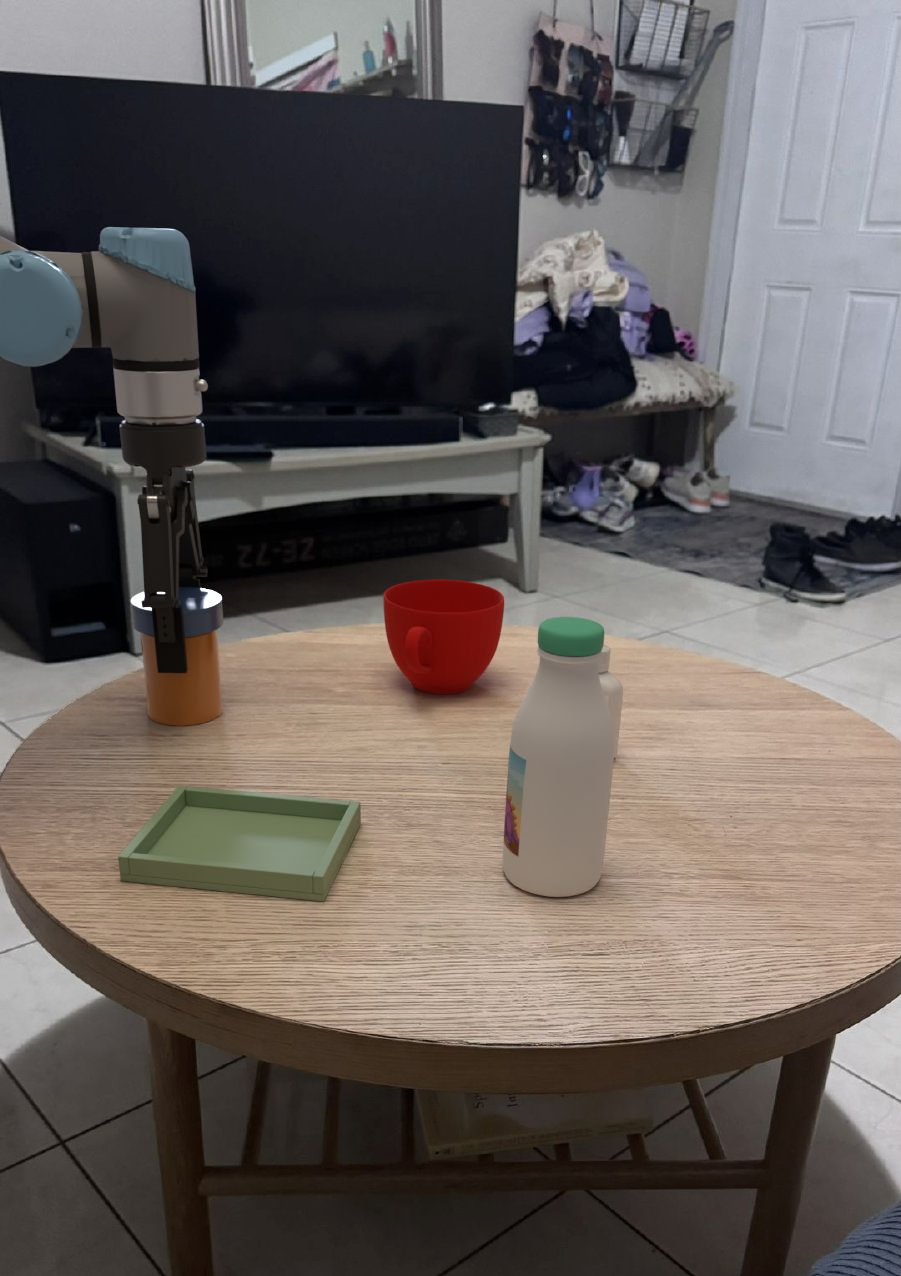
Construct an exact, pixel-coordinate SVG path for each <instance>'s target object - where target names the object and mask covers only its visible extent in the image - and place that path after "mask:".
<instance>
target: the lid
mask: <svg viewBox="0 0 901 1276" xmlns="http://www.w3.org/2000/svg"><path fill="white" fill-rule="evenodd" d="M158 593H162V594H165V593H163V592H158ZM141 600H144V591H141V592H138V593H136V594H135V595H133V596H132V597H131V599H130V601H129V602H130V611H131V622H132V628H133V629H134V630H135V631H137V632H138V633H143V634H147V635H152V636H154V629H153V618H152V608H143V607H142V604H141ZM179 605H182V609H183V621H184V633H185V637H188V636H196V635H201V634H206V633H209V632H212V631H215V630H217V631H218V630H219V629H220V628H221V627H222V626H223V625H224V609H223V607H224V606H223V597H222V595H221V594H220V593H218V592H217V591H214V590H212V589H206V588H202V587H201V588H194V587H179Z"/></svg>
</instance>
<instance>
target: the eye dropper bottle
mask: <svg viewBox="0 0 901 1276" xmlns="http://www.w3.org/2000/svg"><path fill="white" fill-rule="evenodd" d="M611 652H612V651H611V647H610V646H609V645H606V644H605V643H604V644H603V648H602V658H601V659H600V660H599V661H598V673H599V679H600V683H601V687H602V691H603V694H604V697H605V700H606V702H607V705H608V707H609V710H610V713H611V717H612V721H613V728H614V759H615V758H616V757H617V755H618V750H619V749H618V748H619V740H620V739H619V738H620V730H621V719H622V709H623V708H622V707H623V699H624V698H623V696H624V685H623V684H622V682H621V681H620V680H619V679H618V677H617V676H616V675H614V674H613V673H611V672H610V671H609V670H610V660H611Z"/></svg>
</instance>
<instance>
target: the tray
mask: <svg viewBox="0 0 901 1276" xmlns="http://www.w3.org/2000/svg"><path fill="white" fill-rule="evenodd" d="M361 804H362V803H361V801H355V800H345V799H334V798H324V797H323V798H322V797H311V796H302V795H291V794H290V795H289V794H280V793H279V794H277V793H270V792H269V793H268V792H259V791H258V792H257V791H245V790H235V789H223V788H213V787H201V786H191V785H180V784H179V785H177V787H176V788H175V789H174V790H173V791H172V793H171V794H170V795H169V796H168V797H167V798H166V799H165V801H164V802H163V803H162V805H160V806H159V808H158V809H157V810H156V811H155V813H154V814H153V815H152V816H151V817H150V818H149V819H148V821H147V822H146V823H145V824H144V825H143V827H142V828H141V829H140V830H139V831H138V832H137V833H136V835H135V836H134V837H133V838H132V839H131V841H130V842H129V843H128V844H127V845H126V846H125V848H124V849H123V850H122V851H121V852H120V854H118V856H117V861H118V869H119V877H120V878H119V880H120V881H121V882H127V883H128V882H129V883H138V884H147V885H148V884H149V885H158V886H168V887H177V888H188V889H196V890H197V889H199V890H205V891H206V890H207V891H216V892H217V891H218V892H227V893H236V894H246V895H247V894H248V895H255V896H266V897H267V896H268V897H276V898H285V899H295V900H305V901H313V902H314V901H315V902H325V900H326V898H327V896H328V894H329V892H330V889H331V888H332V886H333V884H334V881H335V880H336V877H337V875H338V873H339V871H340V868H341V867H342V865H343V862H344V860H345V859H346V857H347V854H348V852H349V850H350V847H351V846H352V844H353V842H354V839H355V837H356V835H357V833H358V831H359V828H360V826H361V823H362V819H361V817H362V813H361V812H362V810H361V807H362V806H361Z"/></svg>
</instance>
